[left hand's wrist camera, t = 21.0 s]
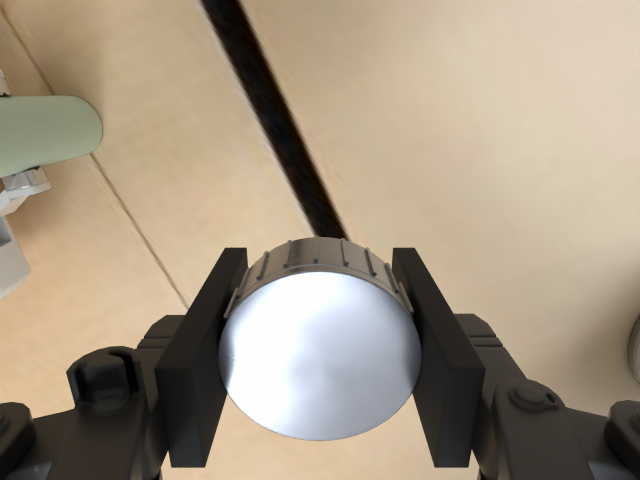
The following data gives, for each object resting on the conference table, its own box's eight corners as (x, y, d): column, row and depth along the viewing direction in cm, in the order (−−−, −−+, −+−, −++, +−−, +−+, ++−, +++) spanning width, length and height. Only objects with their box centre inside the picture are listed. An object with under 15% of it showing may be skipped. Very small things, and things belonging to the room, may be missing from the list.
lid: (363, 406, 14) (371, 464, 11) (210, 355, 13) (188, 408, 11) (439, 273, 12) (465, 314, 10) (266, 206, 11) (254, 234, 9)
